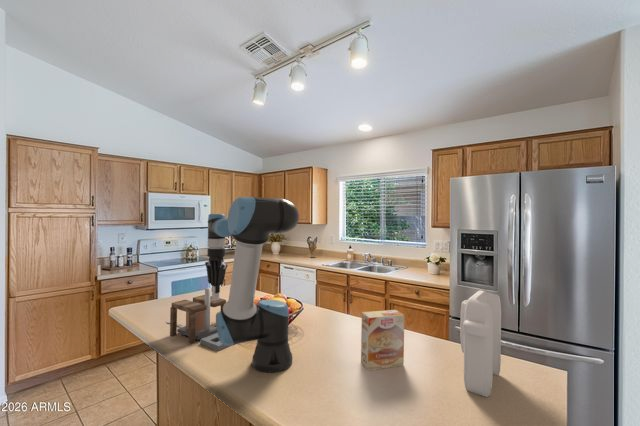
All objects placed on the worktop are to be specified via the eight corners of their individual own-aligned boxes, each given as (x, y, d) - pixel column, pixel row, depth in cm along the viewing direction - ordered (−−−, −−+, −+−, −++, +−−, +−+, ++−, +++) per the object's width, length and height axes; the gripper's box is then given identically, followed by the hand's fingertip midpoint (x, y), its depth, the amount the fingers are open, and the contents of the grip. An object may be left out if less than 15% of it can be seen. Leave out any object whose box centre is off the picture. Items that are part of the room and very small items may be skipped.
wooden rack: (229, 331, 148) (229, 300, 148) (193, 345, 132) (194, 310, 132) (184, 316, 167) (184, 289, 167) (149, 327, 151) (149, 296, 152)
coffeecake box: (367, 371, 112) (368, 317, 112) (360, 362, 119) (360, 311, 119) (404, 366, 116) (405, 314, 116) (395, 357, 123) (395, 308, 123)
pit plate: (244, 339, 138) (244, 335, 139) (218, 350, 127) (218, 345, 127) (226, 333, 145) (226, 329, 145) (200, 343, 133) (200, 339, 133)
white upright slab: (470, 361, 121) (471, 284, 121) (503, 370, 114) (504, 289, 114) (449, 391, 100) (450, 299, 100) (487, 405, 93) (489, 305, 93)
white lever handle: (220, 331, 146) (221, 286, 146) (198, 340, 136) (199, 291, 136) (199, 324, 155) (200, 282, 155) (177, 332, 145) (177, 286, 145)
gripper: (232, 248, 139) (231, 300, 139) (214, 246, 146) (213, 295, 146) (219, 249, 132) (218, 304, 132) (200, 247, 140) (199, 299, 140)
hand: (215, 299), depth 139 cm, fingers closed
